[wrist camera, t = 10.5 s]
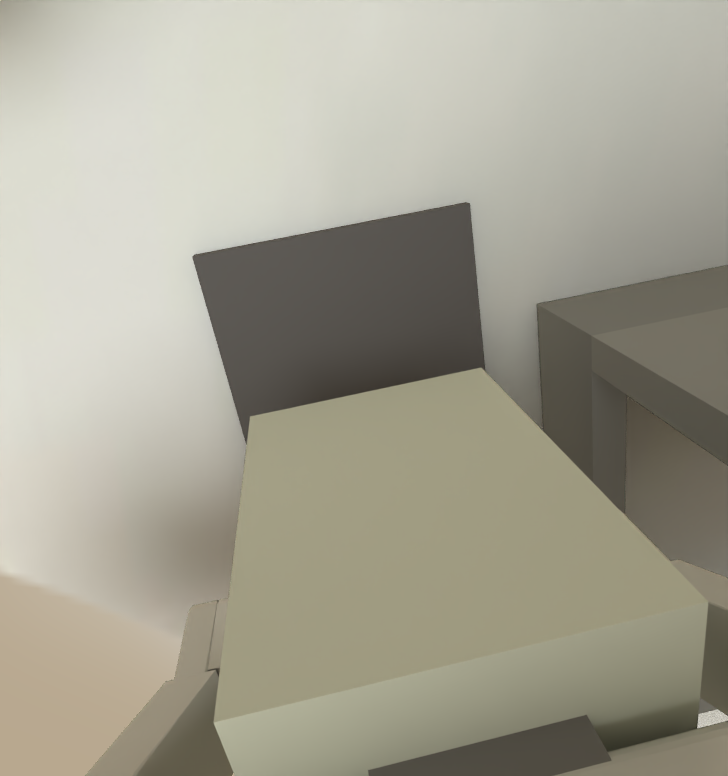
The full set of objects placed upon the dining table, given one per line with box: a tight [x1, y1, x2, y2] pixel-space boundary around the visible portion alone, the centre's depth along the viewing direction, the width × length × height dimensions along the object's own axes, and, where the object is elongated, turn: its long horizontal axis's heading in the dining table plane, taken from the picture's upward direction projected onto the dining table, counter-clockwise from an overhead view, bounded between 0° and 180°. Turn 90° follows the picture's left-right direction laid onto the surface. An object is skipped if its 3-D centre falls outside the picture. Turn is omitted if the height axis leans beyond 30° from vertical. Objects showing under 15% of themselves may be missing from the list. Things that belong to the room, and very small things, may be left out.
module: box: [214, 368, 708, 776], centre depth 10 cm, size 5×6×8 cm
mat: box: [193, 202, 485, 445], centre depth 18 cm, size 8×11×1 cm
